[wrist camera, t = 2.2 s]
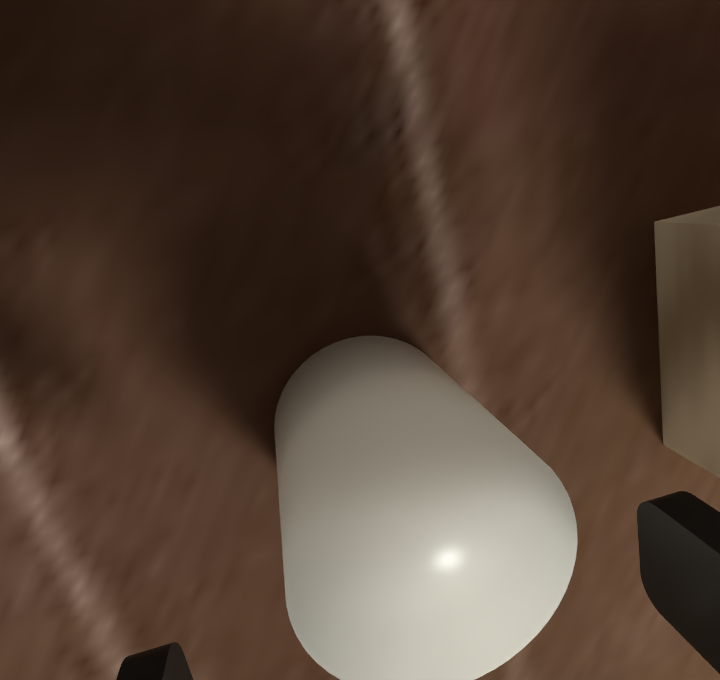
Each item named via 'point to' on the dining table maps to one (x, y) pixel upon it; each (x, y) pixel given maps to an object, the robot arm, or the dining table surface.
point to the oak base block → (690, 334)
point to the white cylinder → (411, 519)
